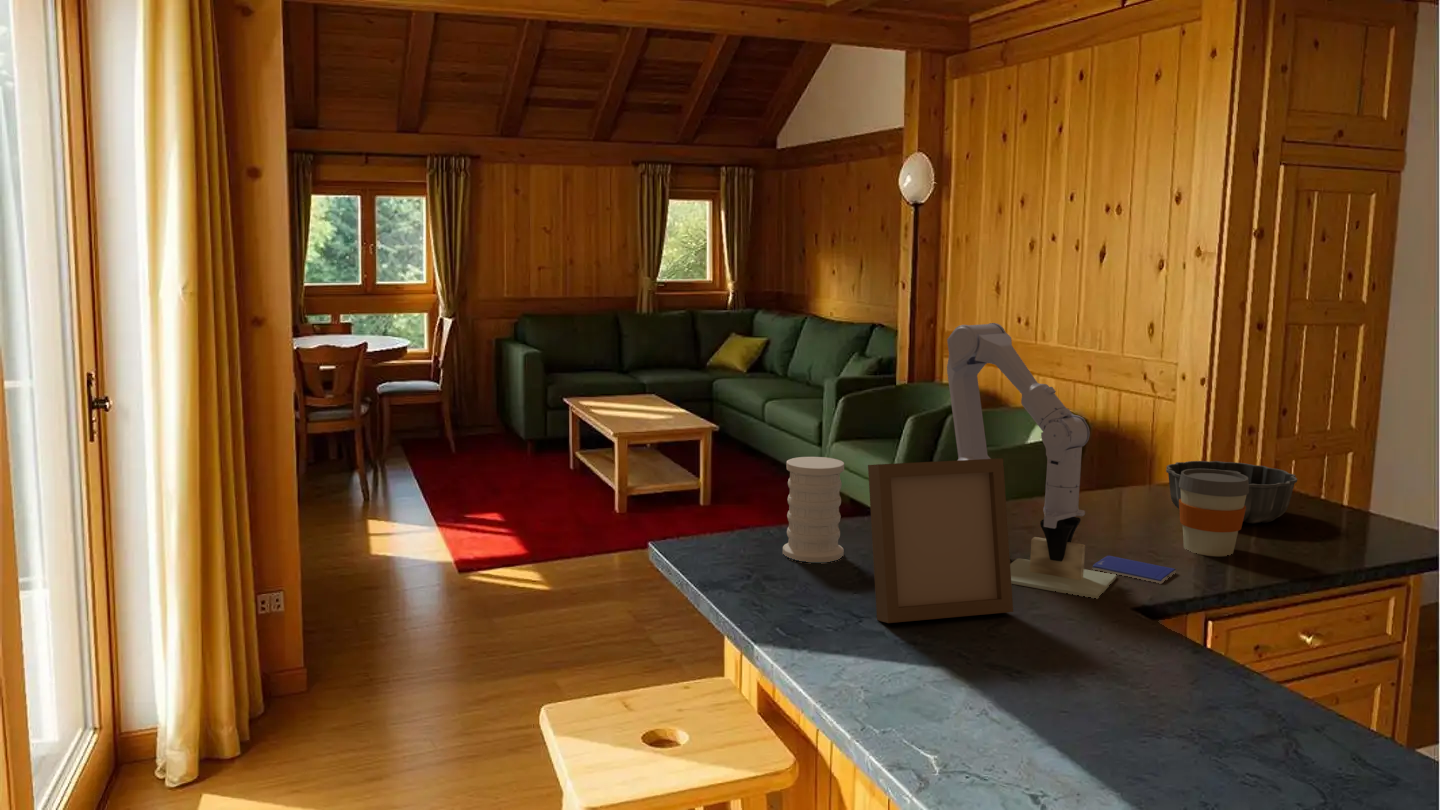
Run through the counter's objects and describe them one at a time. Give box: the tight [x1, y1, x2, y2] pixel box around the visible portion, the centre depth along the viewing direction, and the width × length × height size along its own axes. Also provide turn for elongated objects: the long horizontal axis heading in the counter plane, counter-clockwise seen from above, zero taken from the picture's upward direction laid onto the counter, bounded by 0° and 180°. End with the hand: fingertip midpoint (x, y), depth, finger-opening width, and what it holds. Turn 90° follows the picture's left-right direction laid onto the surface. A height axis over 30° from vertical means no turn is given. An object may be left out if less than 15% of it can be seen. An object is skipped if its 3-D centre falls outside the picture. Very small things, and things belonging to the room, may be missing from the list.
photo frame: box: [867, 458, 1014, 624], centre depth 179 cm, size 15×22×25 cm
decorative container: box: [782, 456, 845, 562], centre depth 208 cm, size 12×12×18 cm
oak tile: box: [1029, 536, 1086, 580], centre depth 197 cm, size 9×2×6 cm, turn 58°
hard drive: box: [1091, 555, 1177, 585], centre depth 201 cm, size 2×8×12 cm
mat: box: [1010, 557, 1118, 600], centre depth 196 cm, size 18×14×1 cm
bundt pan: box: [1165, 460, 1298, 524], centre depth 243 cm, size 26×26×10 cm
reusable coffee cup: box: [1178, 469, 1249, 557], centre depth 215 cm, size 13×13×15 cm
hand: (1058, 558), depth 197 cm, fingers closed on oak tile, 2 cm apart
